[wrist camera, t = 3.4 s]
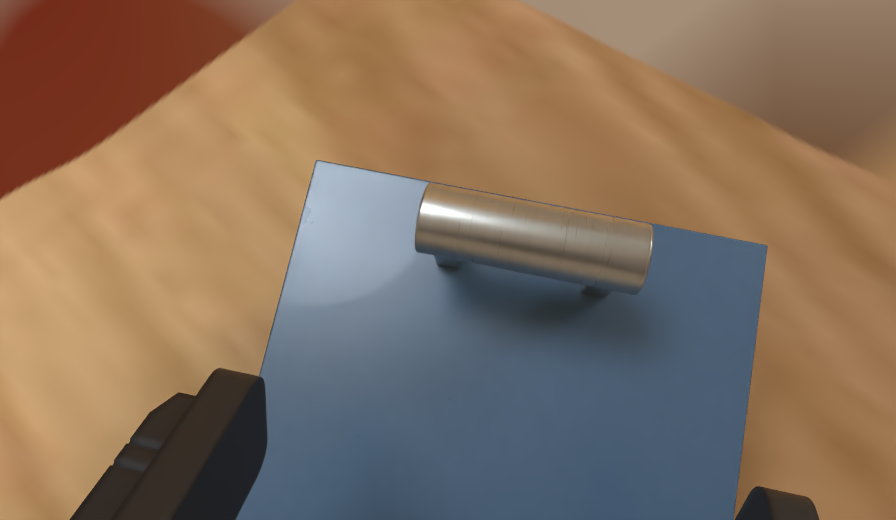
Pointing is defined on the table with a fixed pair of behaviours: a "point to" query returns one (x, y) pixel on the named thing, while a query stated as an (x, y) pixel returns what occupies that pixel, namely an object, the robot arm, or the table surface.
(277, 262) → the table surface
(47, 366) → the table surface
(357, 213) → the freezer lid
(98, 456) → the table surface
